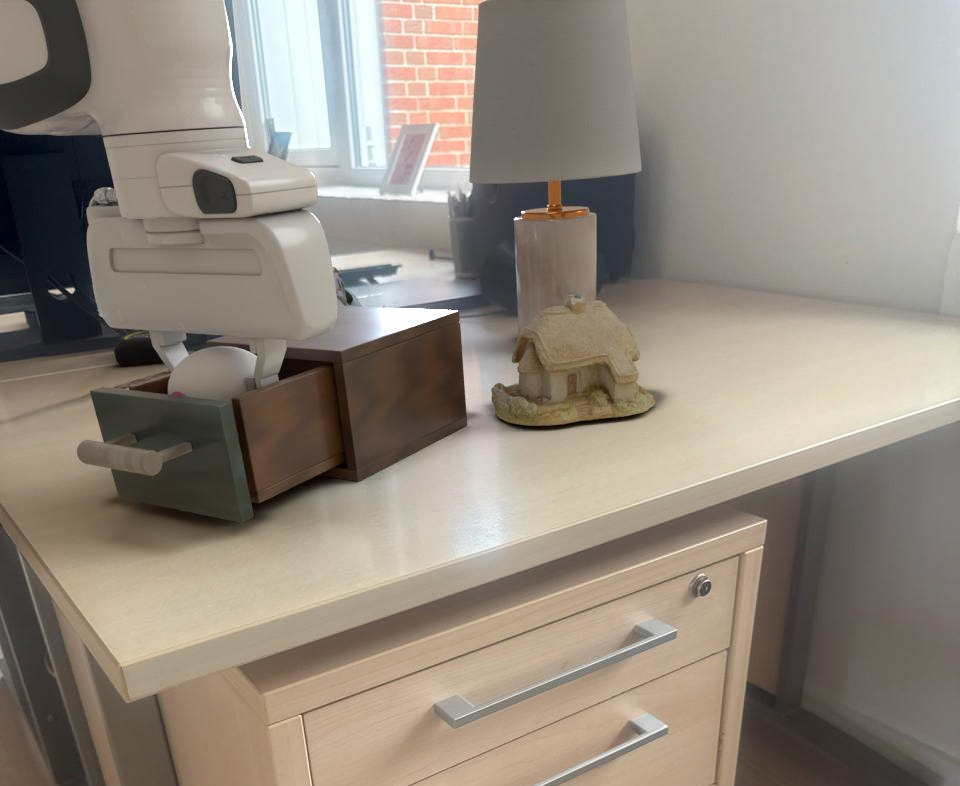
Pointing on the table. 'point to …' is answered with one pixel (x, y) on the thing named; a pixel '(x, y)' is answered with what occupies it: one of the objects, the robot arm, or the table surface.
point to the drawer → (218, 441)
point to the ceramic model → (573, 368)
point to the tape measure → (136, 350)
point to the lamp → (553, 129)
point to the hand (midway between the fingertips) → (227, 396)
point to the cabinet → (387, 381)
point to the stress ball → (213, 374)
